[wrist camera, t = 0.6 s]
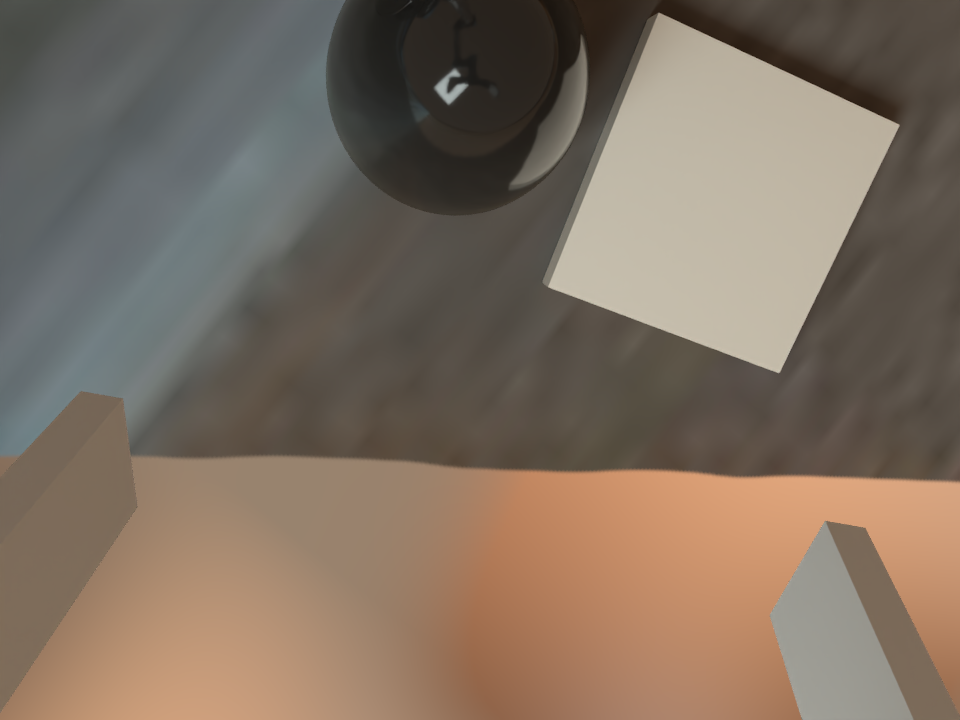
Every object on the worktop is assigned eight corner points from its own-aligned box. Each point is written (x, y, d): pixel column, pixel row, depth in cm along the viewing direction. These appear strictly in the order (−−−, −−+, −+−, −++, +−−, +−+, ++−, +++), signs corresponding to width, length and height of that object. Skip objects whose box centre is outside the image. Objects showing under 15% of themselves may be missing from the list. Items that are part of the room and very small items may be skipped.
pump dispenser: (449, -83, 32) (494, -295, 17) (600, 104, 34) (749, 60, 20) (284, 84, 33) (192, 18, 18) (443, 253, 35) (475, 315, 21)
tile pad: (647, 19, 34) (658, 12, 32) (879, 126, 36) (899, 125, 35) (542, 282, 36) (548, 286, 35) (765, 365, 39) (779, 373, 37)
